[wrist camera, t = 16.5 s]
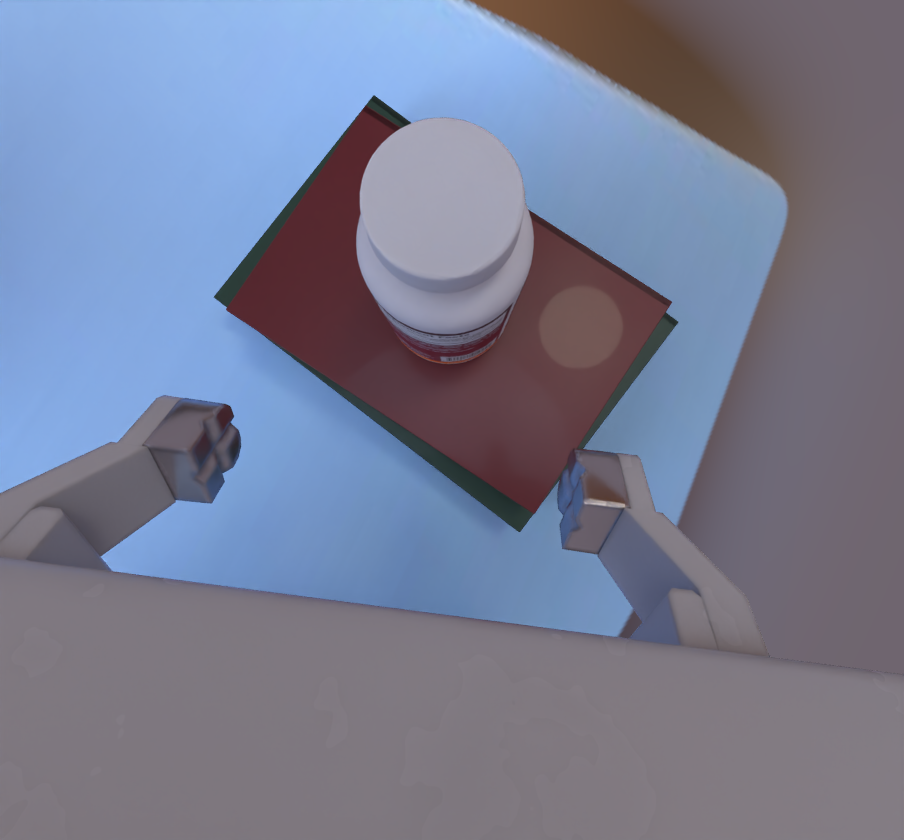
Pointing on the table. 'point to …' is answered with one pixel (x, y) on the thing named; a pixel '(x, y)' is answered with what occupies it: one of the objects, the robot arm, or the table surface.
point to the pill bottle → (444, 237)
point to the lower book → (451, 469)
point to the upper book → (463, 384)
